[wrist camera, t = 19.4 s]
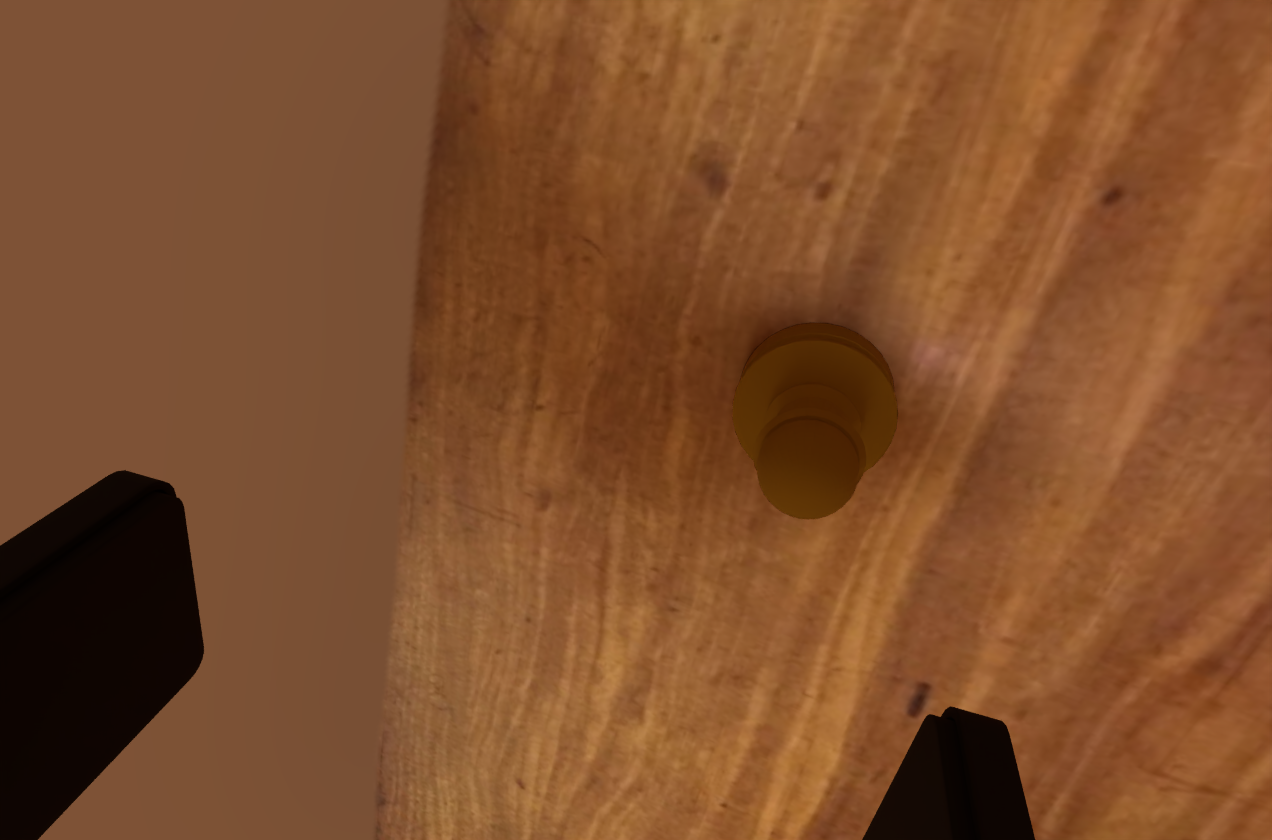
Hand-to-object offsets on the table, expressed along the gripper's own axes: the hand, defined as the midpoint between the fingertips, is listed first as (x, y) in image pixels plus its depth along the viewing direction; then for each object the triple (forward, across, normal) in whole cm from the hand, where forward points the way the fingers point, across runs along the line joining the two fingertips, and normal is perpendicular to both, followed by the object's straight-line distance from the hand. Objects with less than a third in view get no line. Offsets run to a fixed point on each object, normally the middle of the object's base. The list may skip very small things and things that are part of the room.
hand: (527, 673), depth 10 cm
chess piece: (+12, -4, +1) cm, 13 cm away
